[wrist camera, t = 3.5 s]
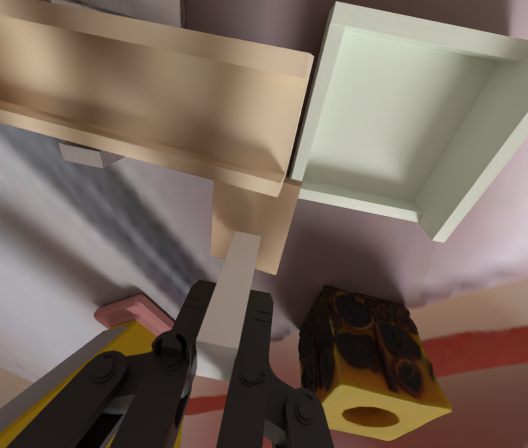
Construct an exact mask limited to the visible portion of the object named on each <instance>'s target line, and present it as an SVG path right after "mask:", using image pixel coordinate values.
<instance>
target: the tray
mask: <svg viewBox="0 0 528 448" xmlns="http://www.w3.org/2000/svg"><path fill="white" fill-rule="evenodd" d="M527 136H528V40H523V39H519V38H514V37H509V36H504V35H499V34H494V33H489V32H484V31H479V30H474V29H470V28H465V27H460V26H455V25H450V24H445V23H440V22H435V21H430V20H425V19H421V18H416V17H411V16H406V15H401V14H396V13H391V12H386V11H381V10H376V9H372V8H367V7H362V6H357V5H352V4H347V3H342V2H337V1H336V2H335V4H334V5H333V7H332V9H331V10H330V12H329V15H328V19H327V23H326V27H325V31H324V36H323V40H322V44H321V48H320V52H319V56H318V60H317V64H316V68H315V72H314V77H313V81H312V85H311V89H310V93H309V97H308V101H307V105H306V109H305V113H304V118H303V122H302V126H301V130H300V134H299V138H298V142H297V146H296V150H295V154H294V159H293V163H292V167H291V171H290V175H289V178H291V179H295V180H299V181H302V186H301V189H300V193H299V196H298V198H300V199H305V200H310V201H315V202H320V203H325V204H330V205H335V206H340V207H345V208H350V209H355V210H360V211H365V212H370V213H375V214H380V215H385V216H390V217H395V218H399V219H404V220H409V221H414V222H418V223H419V224H420V225H421V227H422V228H423V229H424V230H425V232H426V233H427V234H428V236H429V237H430V238H431V239H432V240H433V241H438V242H443V243H444V242H445V241H446V239H447V238H448V237H449V235H450V234H451V233H452V232H453V230H454V229H455V228H456V227H457V225H458V224H459V223H460V221H461V220H462V219H463V218H464V216H465V215H466V214H467V213H468V211H469V210H470V209H471V208H472V206H473V205H474V204H475V202H476V201H477V200H478V199H479V197H480V196H481V195H482V194H483V192H484V191H485V190H486V189H487V187H488V186H489V185H490V183H491V182H492V181H493V180H494V178H495V177H496V176H497V175H498V173H499V172H500V171H501V169H502V168H503V167H504V166H505V164H506V163H507V162H508V161H509V159H510V158H511V157H512V156H513V154H514V153H515V152H516V150H517V149H518V148H519V147H520V145H521V144H522V143H523V142H524V140H525V139H526V138H527Z"/></svg>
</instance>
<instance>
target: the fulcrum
mask: <svg viewBox="0 0 528 448" xmlns="http://www.w3.org/2000/svg"><path fill="white" fill-rule="evenodd" d="M51 3H56V4H61V5H66V6H71V7H76V8H81V9H86V10H91V11H97V12H102V13H107V14H112V15H117V16H122V17H127V18H132V19H137V20H143V21H148V22H153V23H158V24H163V25H168V26H173V27H178V28H183V29H186V20H185V0H51ZM59 147H60V150H61V153H62V156H63V159H64V160H65V161H70V162H75V163H80V164H85V165H90V166H95V167H100V168H105V167H107V166H108V165H110V164H112V163H114V162H116V161H118V160H120V159H122V158H123V157H125V156H122V155H118V154H115V153H111V152H107V151H103V150H100V149H96V148H92V147H89V146H85V145H81V144H78V143H74V142H70V141H65V142H62V143H59Z"/></svg>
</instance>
